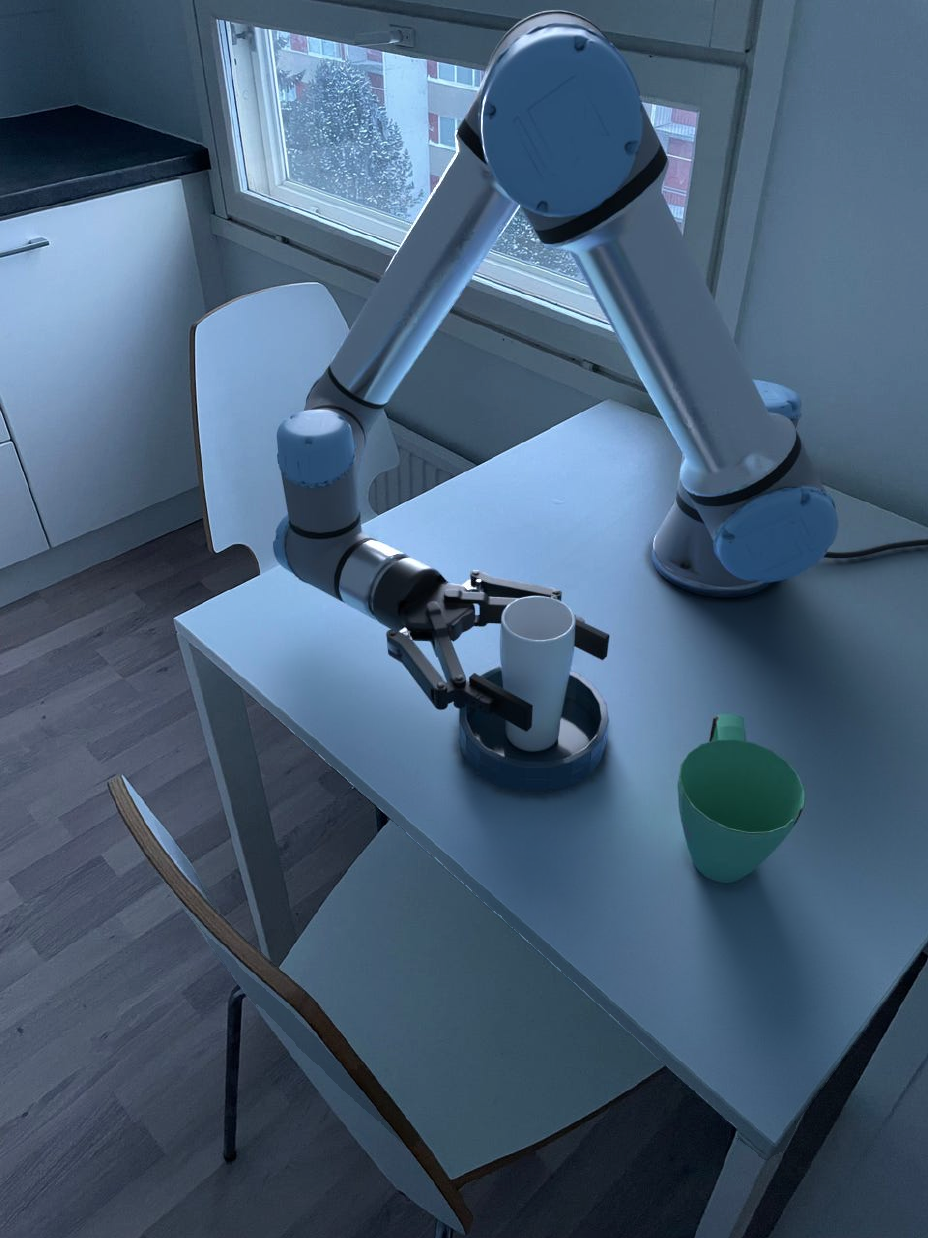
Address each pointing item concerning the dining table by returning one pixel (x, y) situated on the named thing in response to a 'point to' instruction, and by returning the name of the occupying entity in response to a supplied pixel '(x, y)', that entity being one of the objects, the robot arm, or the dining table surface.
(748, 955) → the dining table surface
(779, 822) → the mug
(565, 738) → the round dark tray
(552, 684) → the drinking glass
